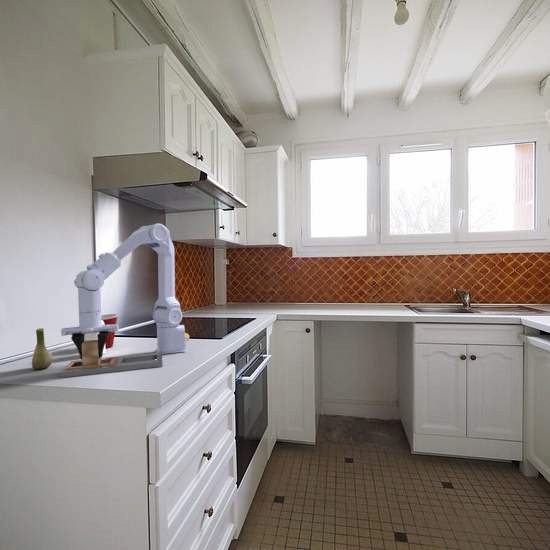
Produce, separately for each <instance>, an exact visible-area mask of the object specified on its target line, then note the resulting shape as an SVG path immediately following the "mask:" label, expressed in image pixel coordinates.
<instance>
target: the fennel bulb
mask: <svg viewBox="0 0 550 550" xmlns="http://www.w3.org/2000/svg"><path fill="white" fill-rule="evenodd" d="M44 332H45V331H44V328H43V327H41V328H37V329H36V331H35V333H36V344H35V345H36V346H35V347H34V351H33V354H32V358H31V365H32V366H31V368H32V369H33V370H40V369H41V370H44V369H47V368H48V367H50V366H51V365H52V364H53V363H52V362H53V358H52V356H51V353H50V352H49V350H48V349H47V347H46V343H45V333H44Z"/></svg>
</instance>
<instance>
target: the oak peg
mask: <svg viewBox="0 0 550 550" xmlns="http://www.w3.org/2000/svg"><path fill="white" fill-rule="evenodd" d="M98 352H99V345H98V340H88V341H84V342H83V343H82V366H89V365H99V364H100V363H101V358H99V355H98Z"/></svg>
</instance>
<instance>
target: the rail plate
mask: <svg viewBox="0 0 550 550" xmlns="http://www.w3.org/2000/svg"><path fill="white" fill-rule="evenodd" d="M163 357H164V356H163V354H162V352H159V353H156V352H150V353H141V354H140V353H139V354H131V355H120V356H110V357H102V358H101V363H100V364H99V365H89V366H82V360H81V359H80V360H79V359H78V360H72V361H70V362H69V363H68V365H66V366H65V367H64V368H63V369H62V370H61V371H60V373H59V374H60V379H61V378H62V379H63V378H70V377H71V378H72V377H80V376H90V375H98V374H107V373H116V372H117V371H118V372H126V371H133V370H134V371H135V369H136V370H142V369H144V368H145V369H152V368H151V367H154V368H161V367H160V366H162V367H163V361H162V358H163ZM155 359H157V360H155ZM145 369H144V370H145Z"/></svg>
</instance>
